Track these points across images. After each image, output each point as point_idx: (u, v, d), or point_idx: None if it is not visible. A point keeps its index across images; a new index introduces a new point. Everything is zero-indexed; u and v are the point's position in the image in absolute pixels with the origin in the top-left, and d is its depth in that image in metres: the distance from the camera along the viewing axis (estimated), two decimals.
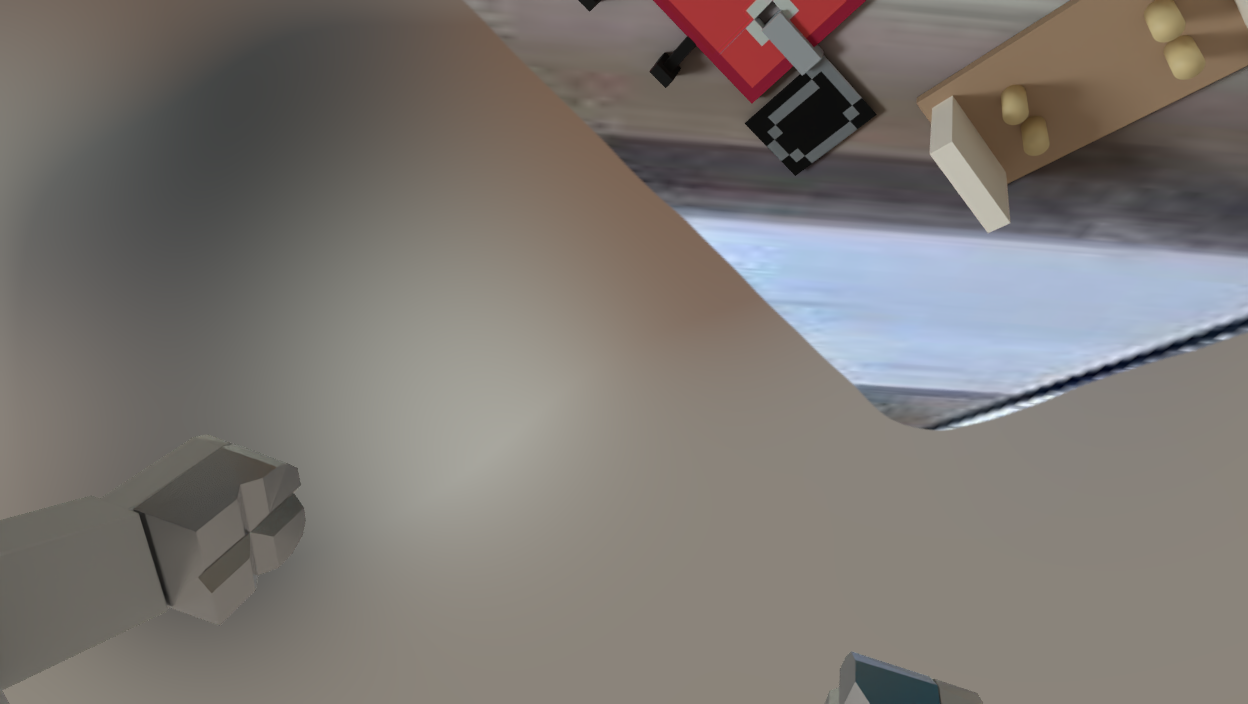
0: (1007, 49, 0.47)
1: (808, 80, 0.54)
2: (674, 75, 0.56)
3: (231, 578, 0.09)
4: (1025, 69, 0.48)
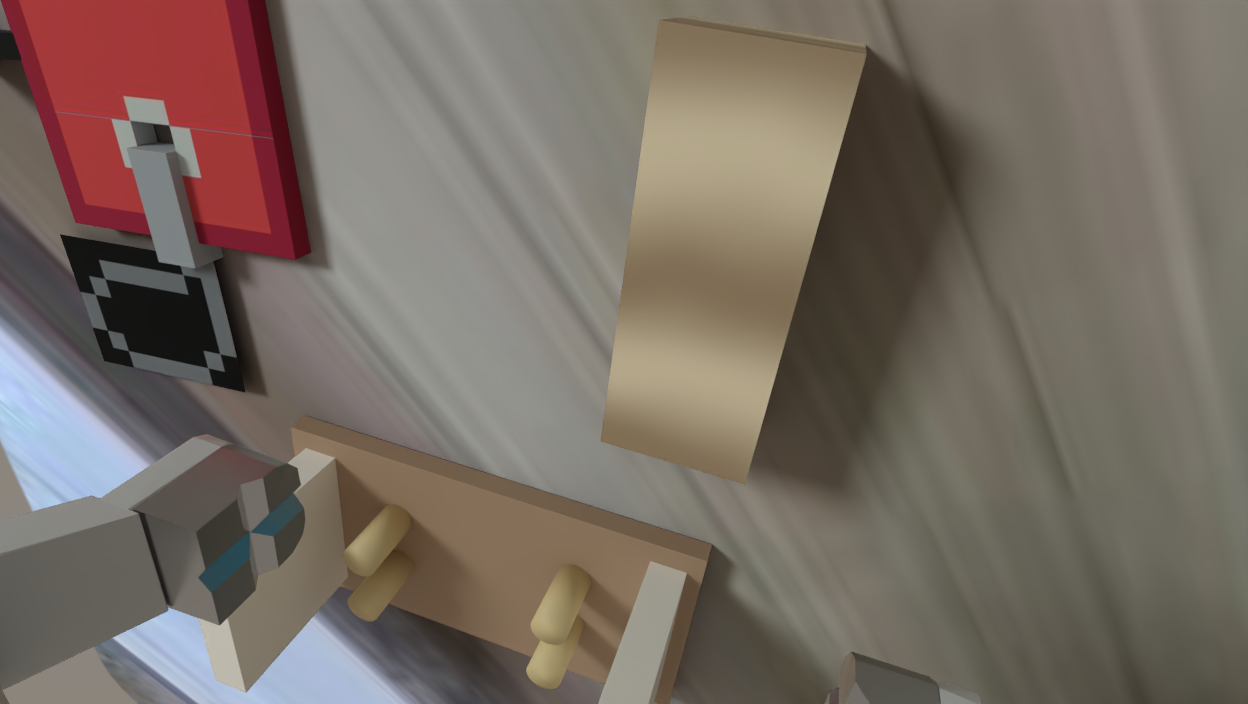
0: (417, 471, 0.30)
1: (178, 272, 0.30)
2: None
3: (231, 578, 0.09)
4: (424, 506, 0.31)
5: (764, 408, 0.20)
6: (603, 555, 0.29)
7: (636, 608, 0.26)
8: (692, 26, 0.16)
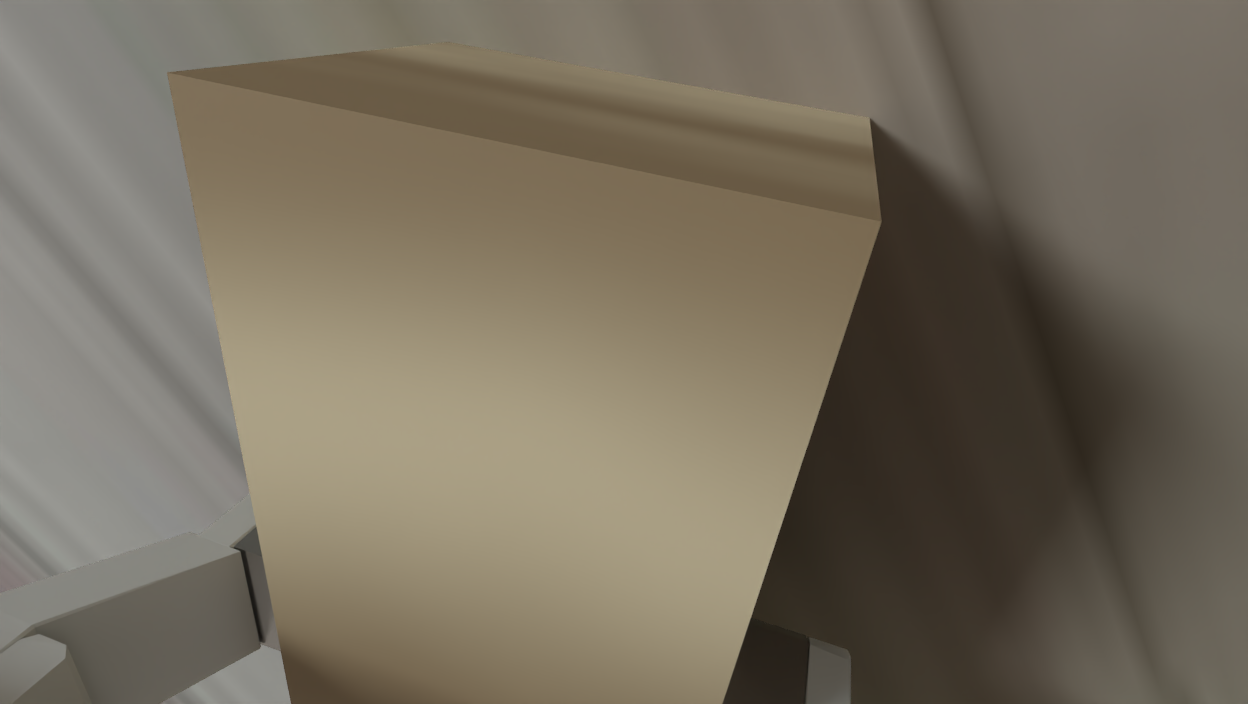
0: None
1: None
2: None
3: None
4: None
5: None
6: None
7: None
8: (267, 96, 0.05)
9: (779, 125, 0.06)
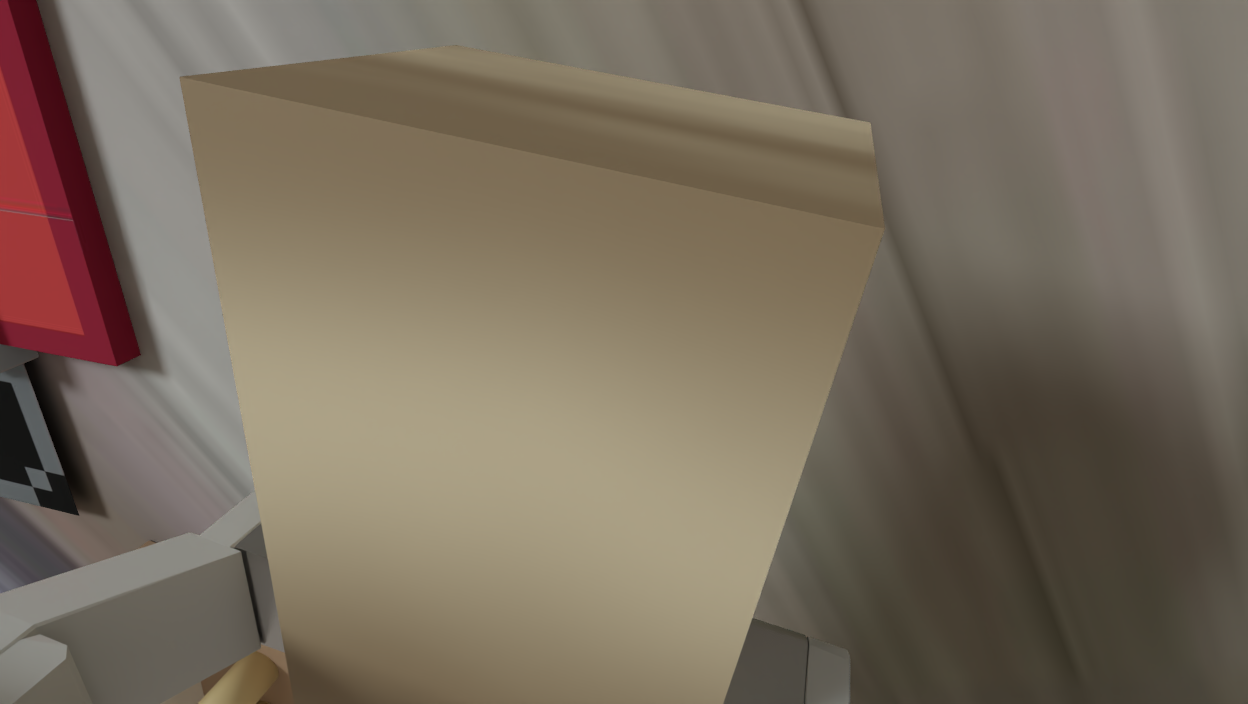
0: None
1: None
2: None
3: None
4: None
5: None
6: None
7: None
8: (279, 101, 0.05)
9: (782, 131, 0.06)
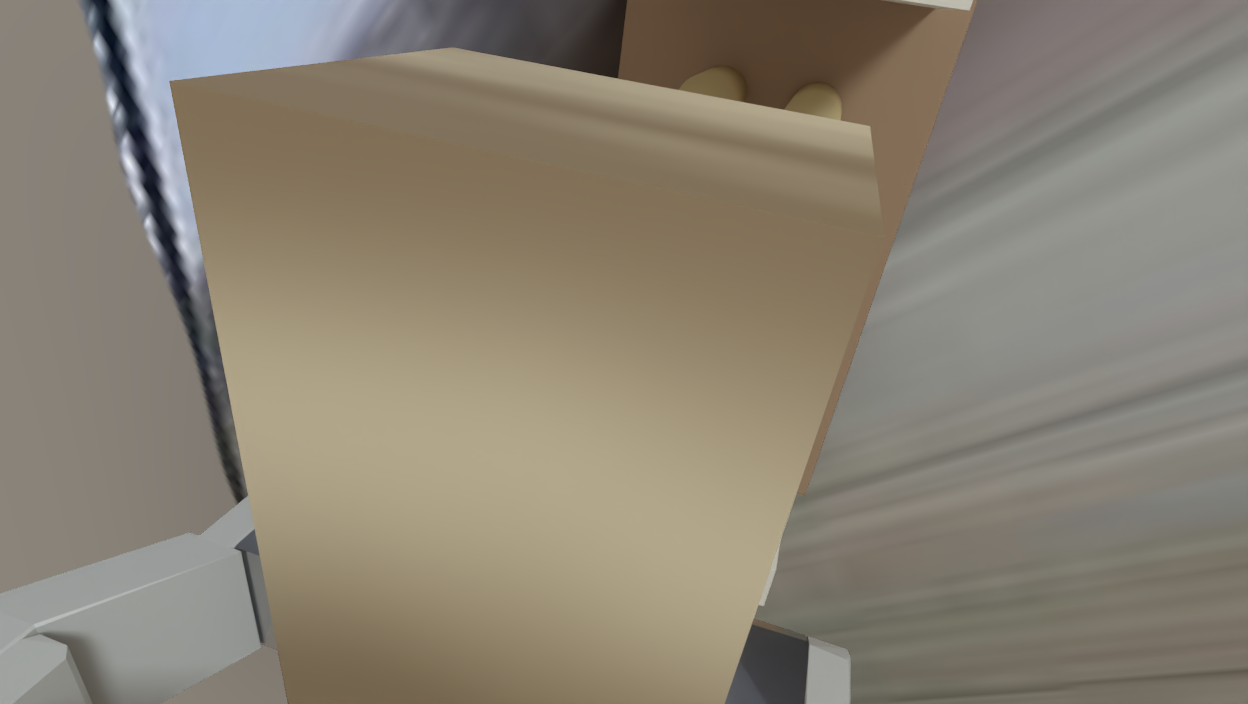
0: (912, 168, 0.21)
1: None
2: None
3: None
4: None
5: None
6: None
7: None
8: (269, 106, 0.05)
9: (781, 135, 0.06)
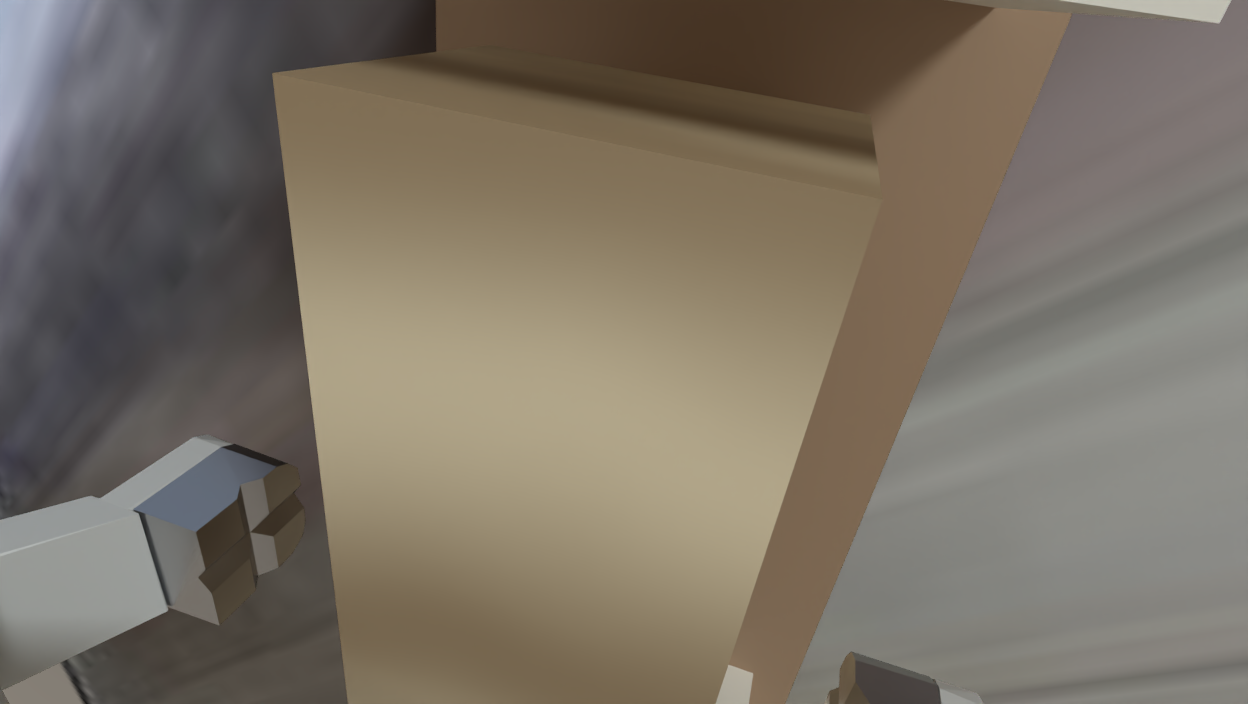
0: (942, 293, 0.12)
1: None
2: None
3: (231, 578, 0.09)
4: None
5: None
6: (749, 613, 0.16)
7: None
8: (360, 94, 0.05)
9: (791, 121, 0.07)
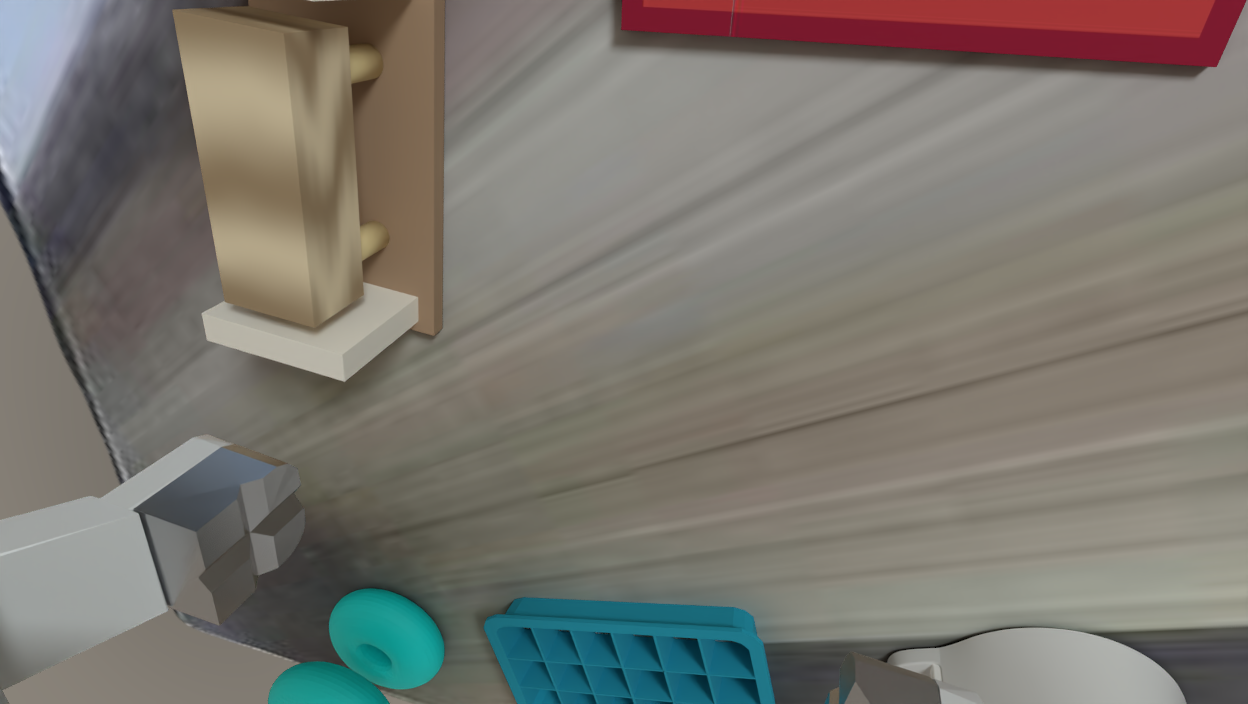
0: (430, 99, 0.33)
1: None
2: None
3: (231, 578, 0.09)
4: (393, 97, 0.33)
5: (307, 271, 0.31)
6: (408, 262, 0.38)
7: (393, 318, 0.36)
8: (190, 14, 0.26)
9: (307, 25, 0.28)
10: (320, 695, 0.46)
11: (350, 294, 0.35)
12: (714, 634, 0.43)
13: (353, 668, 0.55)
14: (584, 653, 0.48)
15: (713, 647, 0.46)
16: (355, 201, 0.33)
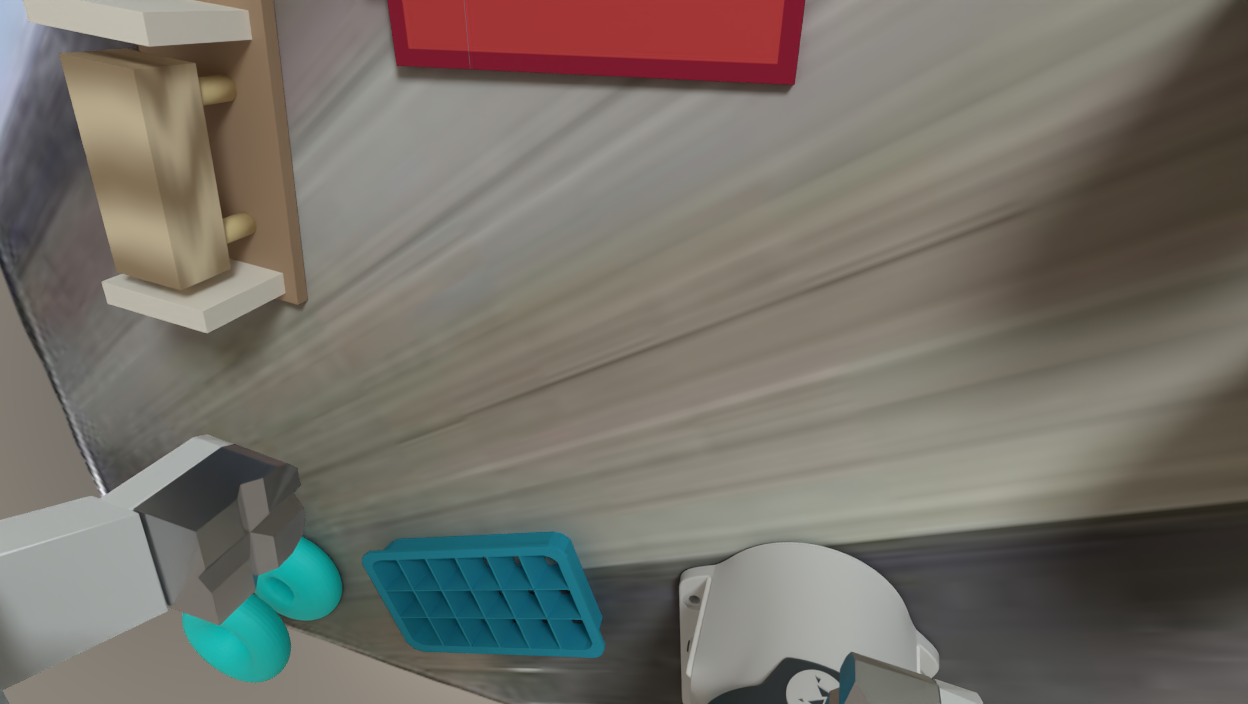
0: (272, 116, 0.43)
1: None
2: None
3: (231, 578, 0.09)
4: (246, 115, 0.43)
5: (170, 245, 0.41)
6: (272, 244, 0.47)
7: (256, 287, 0.46)
8: (71, 56, 0.37)
9: (161, 62, 0.38)
10: None
11: (216, 267, 0.44)
12: (529, 550, 0.52)
13: (264, 601, 0.64)
14: (442, 581, 0.57)
15: (544, 569, 0.55)
16: (215, 194, 0.43)
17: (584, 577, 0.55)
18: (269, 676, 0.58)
